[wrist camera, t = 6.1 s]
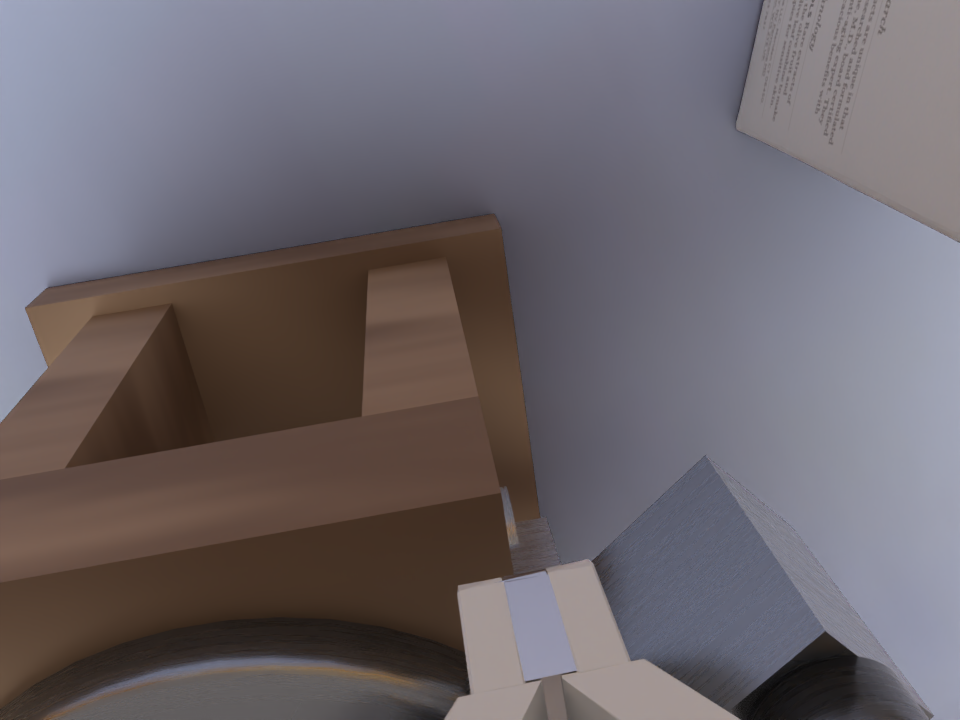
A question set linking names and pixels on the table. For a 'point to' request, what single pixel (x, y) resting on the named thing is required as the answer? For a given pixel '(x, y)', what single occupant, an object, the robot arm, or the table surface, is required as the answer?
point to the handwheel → (443, 670)
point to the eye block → (264, 446)
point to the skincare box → (864, 98)
